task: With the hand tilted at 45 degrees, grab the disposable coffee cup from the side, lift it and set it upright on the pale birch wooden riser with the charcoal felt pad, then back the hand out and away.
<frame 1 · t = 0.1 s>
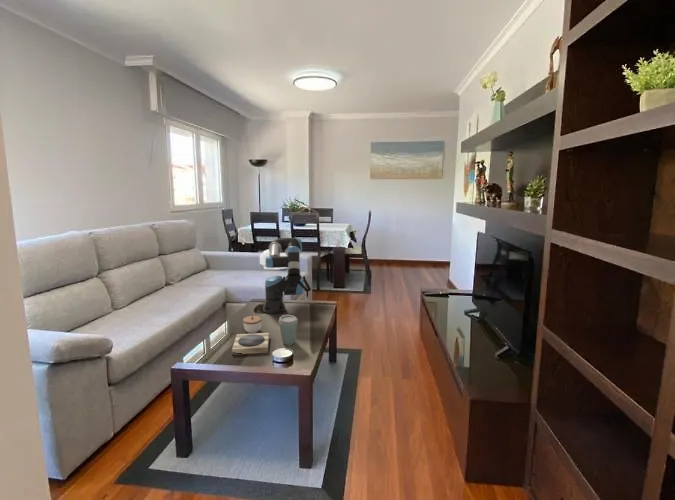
hand: (294, 302, 220), 15 cm above the table, tool tilted 35°, fingers open, 13 cm apart
disposable coffee cup: (288, 343, 200), on the table
birch riser: (251, 345, 196), on the table
lidded jar: (252, 331, 214), on the table
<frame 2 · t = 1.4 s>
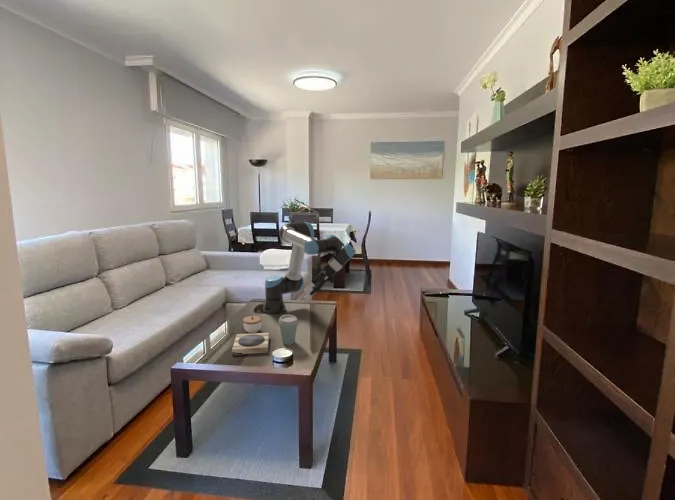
hand: (305, 295, 196), 27 cm above the table, tool tilted 45°, fingers open, 13 cm apart
nothing on the table moved.
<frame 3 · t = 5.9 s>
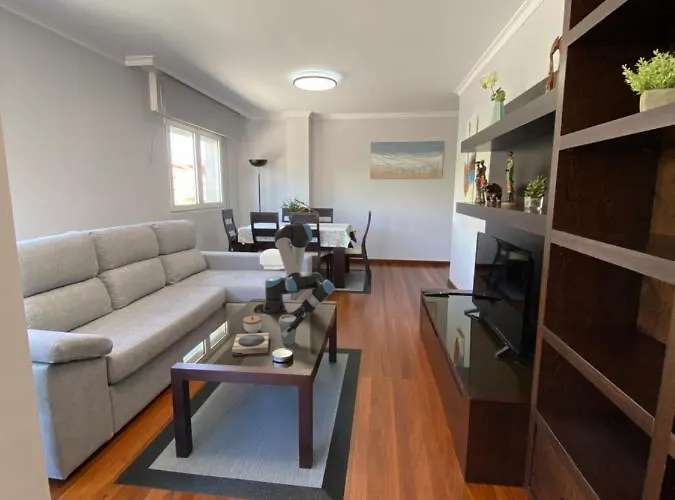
hand: (283, 331, 198), 7 cm above the table, tool tilted 45°, fingers closed on disposable coffee cup, 11 cm apart
disposable coffee cup: (288, 343, 200), on the table, touching gripper
everything else where it was.
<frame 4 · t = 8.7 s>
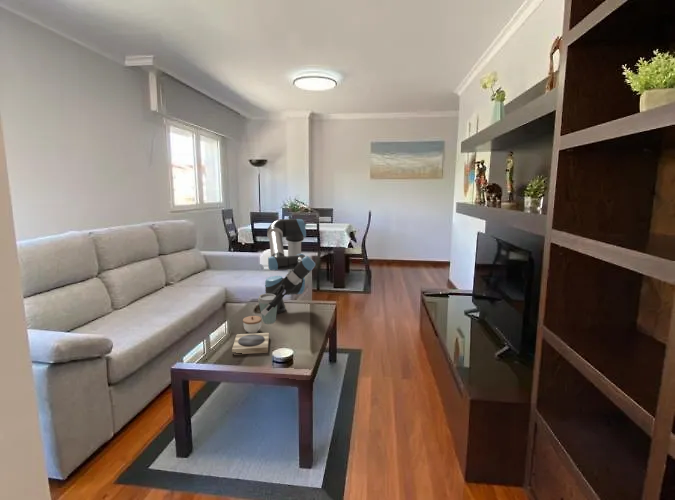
hand: (263, 310, 192), 21 cm above the table, tool tilted 45°, fingers closed on disposable coffee cup, 11 cm apart
disposable coffee cup: (269, 322, 194), point 13 cm above the table, touching gripper
everything else where it was.
when the fingers open (12 cm above the table, at t = 11.7 s): disposable coffee cup drops 1 cm, resting on birch riser.
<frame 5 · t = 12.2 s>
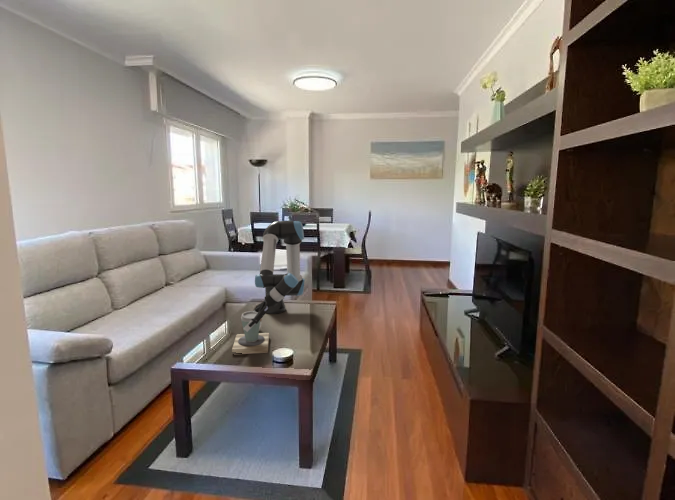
hand: (246, 324, 193), 12 cm above the table, tool tilted 45°, fingers open, 13 cm apart
disposable coffee cup: (251, 340, 195), point 3 cm above the table, touching birch riser
everything else where it was.
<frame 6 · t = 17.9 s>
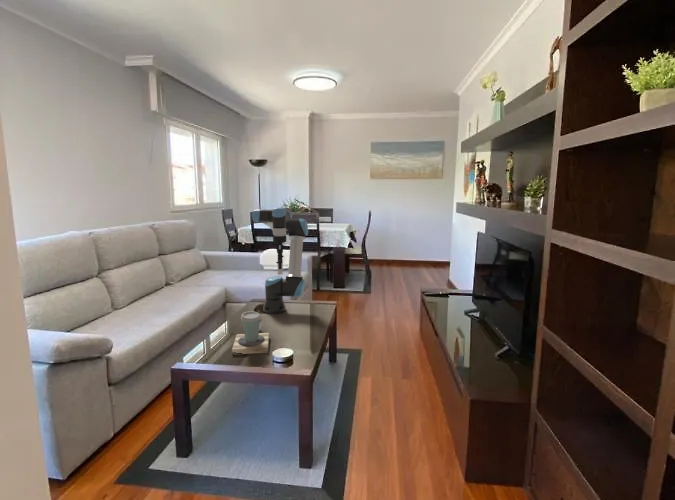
hand: (280, 271, 208), 37 cm above the table, tool pointing down, fingers open, 13 cm apart
nothing on the table moved.
at the end: disposable coffee cup inside the target area on the birch riser (0.1 cm from its centre), point 3.1 cm above the birch riser's base; disposable coffee cup tilted 0°; the gripper is holding nothing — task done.
